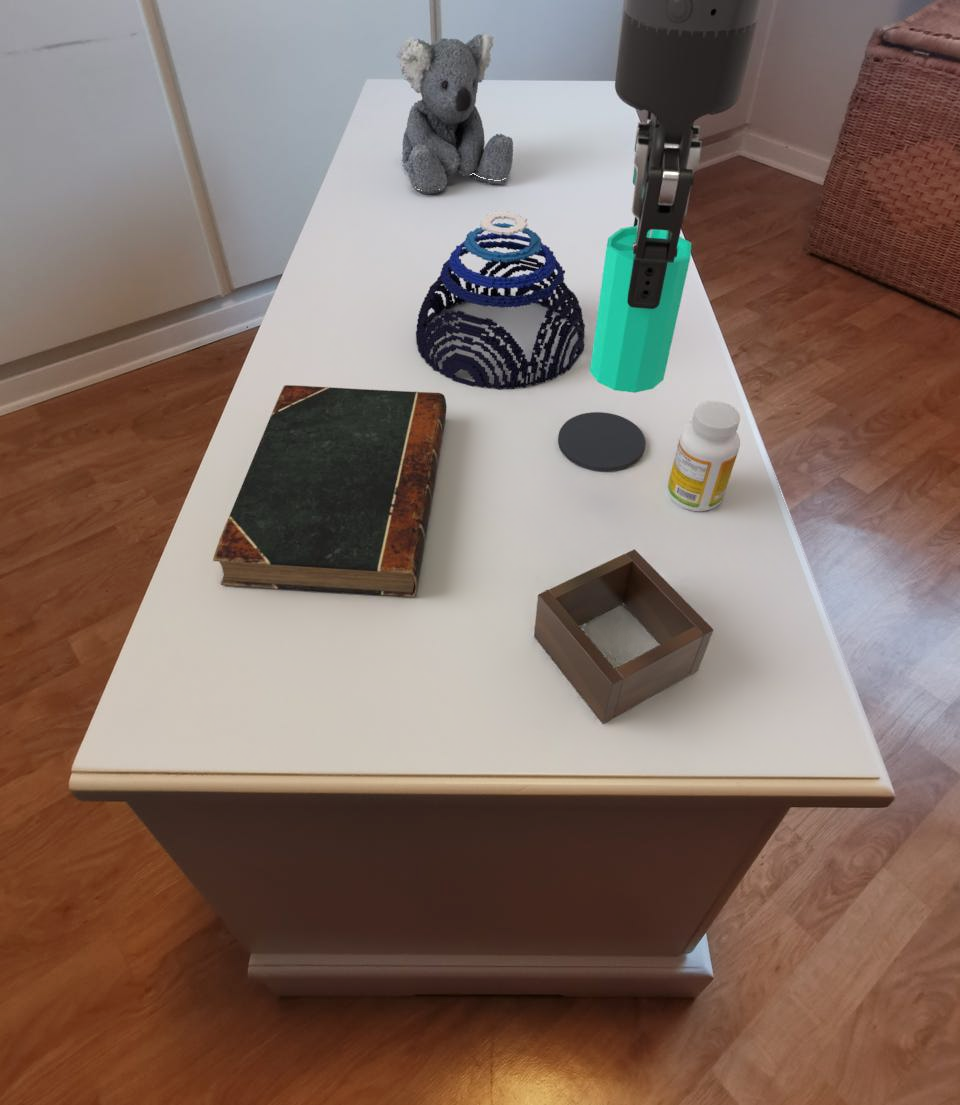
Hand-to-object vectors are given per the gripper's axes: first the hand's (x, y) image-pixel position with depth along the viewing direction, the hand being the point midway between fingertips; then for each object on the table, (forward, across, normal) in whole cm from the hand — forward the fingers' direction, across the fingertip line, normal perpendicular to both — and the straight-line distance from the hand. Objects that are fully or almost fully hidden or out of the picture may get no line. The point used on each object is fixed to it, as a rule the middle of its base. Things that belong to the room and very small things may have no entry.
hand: (642, 281), depth 56 cm
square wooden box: (+24, -16, -2) cm, 29 cm away
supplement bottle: (+24, +4, -9) cm, 26 cm away
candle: (+8, 0, 0) cm, 8 cm away
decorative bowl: (+24, +28, +14) cm, 39 cm away
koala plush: (+24, +77, +28) cm, 85 cm away
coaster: (+24, +10, 0) cm, 26 cm away
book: (+24, -1, +25) cm, 35 cm away
